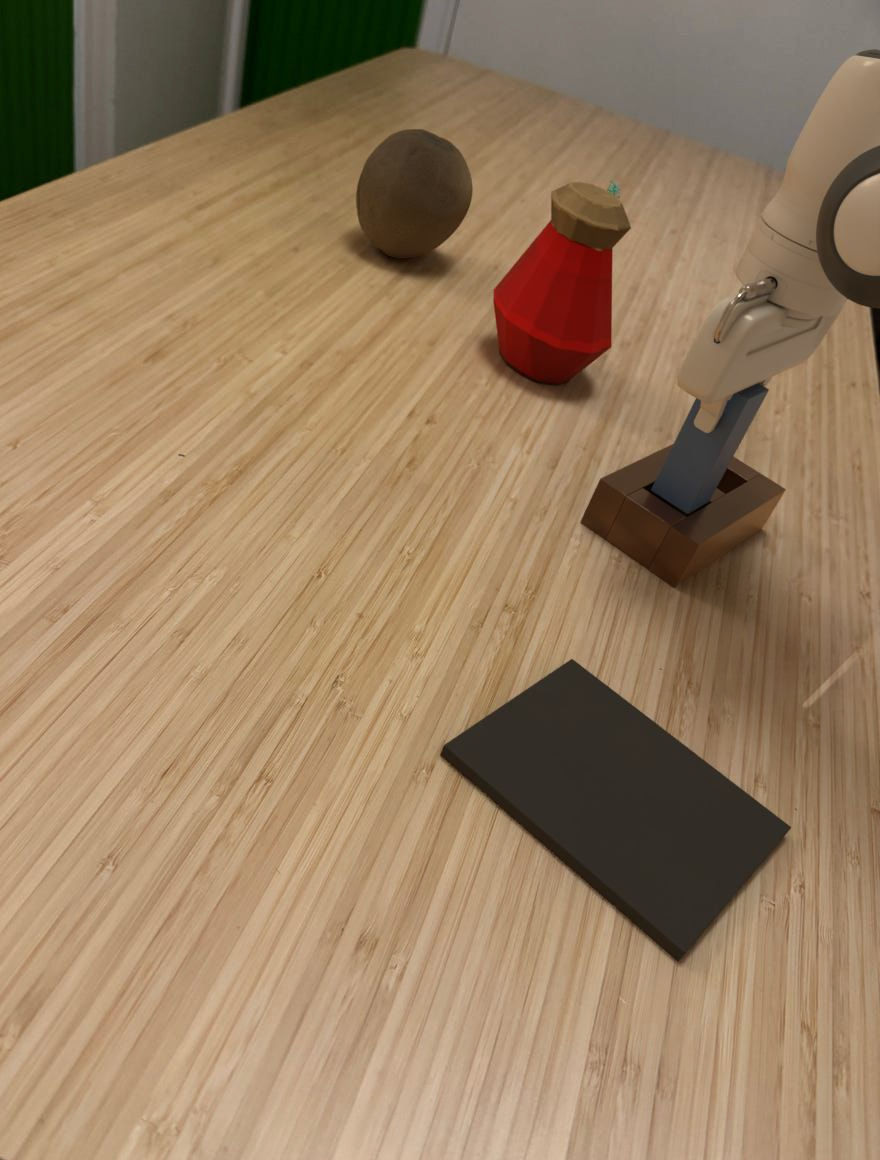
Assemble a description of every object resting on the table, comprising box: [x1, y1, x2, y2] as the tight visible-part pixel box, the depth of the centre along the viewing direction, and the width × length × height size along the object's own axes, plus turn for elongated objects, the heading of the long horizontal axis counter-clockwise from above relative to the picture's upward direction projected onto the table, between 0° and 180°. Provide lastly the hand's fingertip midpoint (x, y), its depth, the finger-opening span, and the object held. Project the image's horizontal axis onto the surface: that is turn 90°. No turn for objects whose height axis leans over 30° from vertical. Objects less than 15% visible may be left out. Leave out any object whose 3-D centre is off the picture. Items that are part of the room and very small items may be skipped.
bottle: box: [492, 181, 632, 387], centre depth 116 cm, size 16×14×20 cm
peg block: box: [580, 443, 787, 588], centre depth 101 cm, size 11×19×5 cm, turn 137°
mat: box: [439, 658, 792, 962], centre depth 72 cm, size 20×16×1 cm
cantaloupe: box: [355, 128, 474, 259], centre depth 132 cm, size 14×14×15 cm
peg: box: [651, 383, 770, 514], centre depth 93 cm, size 4×4×12 cm
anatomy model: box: [583, 179, 622, 200], centre depth 174 cm, size 5×8×7 cm
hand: (719, 421), depth 92 cm, fingers closed on peg, 4 cm apart
